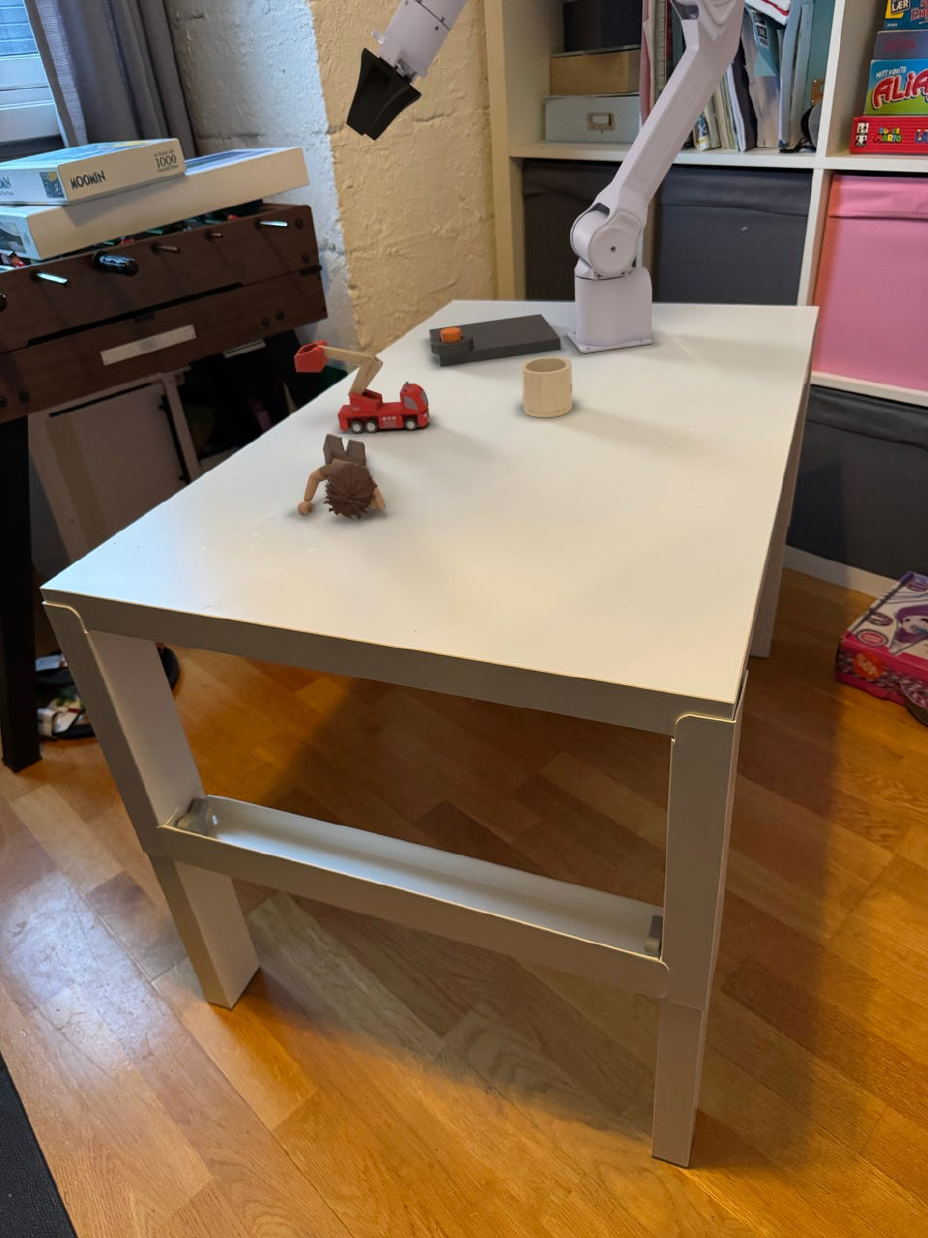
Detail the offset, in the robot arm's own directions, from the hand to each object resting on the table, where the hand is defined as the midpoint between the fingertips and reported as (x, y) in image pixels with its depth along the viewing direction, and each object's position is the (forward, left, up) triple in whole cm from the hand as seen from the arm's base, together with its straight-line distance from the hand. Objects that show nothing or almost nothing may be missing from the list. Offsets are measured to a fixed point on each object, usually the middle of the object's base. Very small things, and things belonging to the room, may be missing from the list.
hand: (360, 132), depth 99 cm
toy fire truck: (+4, +18, -28) cm, 33 cm away
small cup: (-16, +20, -27) cm, 38 cm away
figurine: (+8, +34, -28) cm, 45 cm away
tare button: (-8, -1, -25) cm, 26 cm away
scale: (-14, -5, -27) cm, 31 cm away
